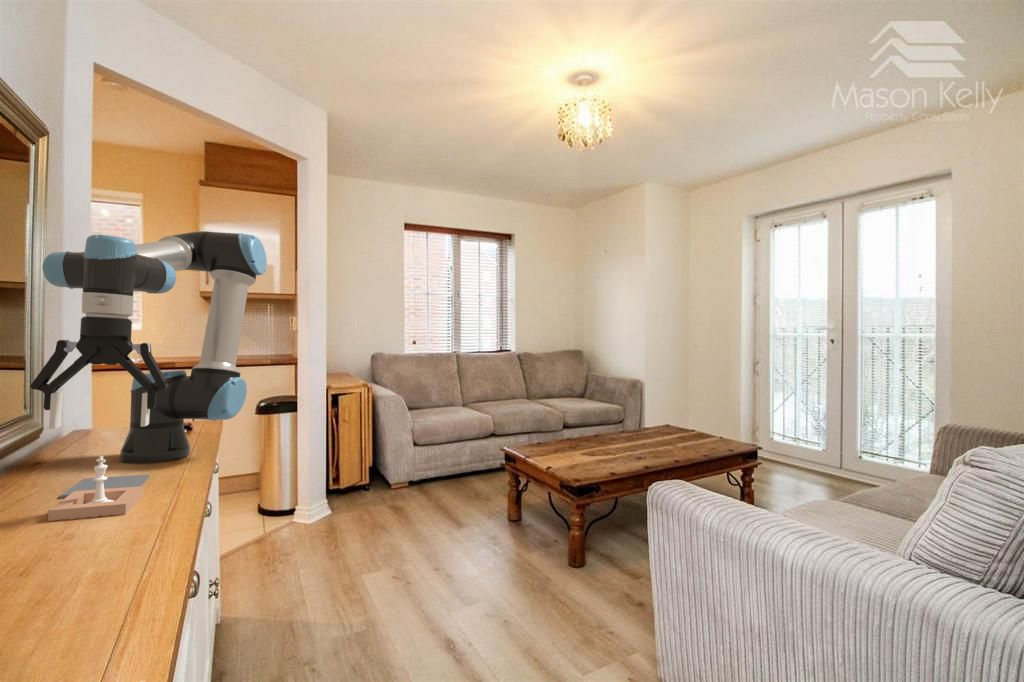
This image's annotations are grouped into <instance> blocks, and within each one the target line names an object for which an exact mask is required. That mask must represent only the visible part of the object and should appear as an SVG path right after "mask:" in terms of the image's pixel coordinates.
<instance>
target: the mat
mask: <svg viewBox="0 0 1024 682" xmlns="http://www.w3.org/2000/svg"><path fill="white" fill-rule="evenodd" d="M150 474H151V473H148V474H132V475H118V476H117V475H116V476H106V477H107V479H106V480H103V483H104V489H110V488H124V487H138V486H143V485H144V483H145V482H146V481H147V480H148V479H149V478H150V477H149V476H151V475H150ZM148 477H149V478H148ZM94 478H95V477H85V478H82V479H81V480H79V481H78V482H77V483H75V484H74V485H72V486H71V487H70V488H68V489H67V490H66V491H64V492H63V493H62V494H60V495H59V499H65V497H67V496H69V495H70V494H71V493H73V492H74V491H82V490H96V484H97V481H93V479H94ZM147 478H148V479H147Z"/></svg>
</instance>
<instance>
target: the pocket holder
mask: <svg viewBox="0 0 1024 682" xmlns="http://www.w3.org/2000/svg"><path fill="white" fill-rule="evenodd" d="M143 487H144V486H143V485H141V486H138V487H124V488H110V489H104V492H105V497H106V498H107V499H109V500H114V501H111V502H98V503H89V502H92V501H91V500H92V499H94V495H95V490H82V491H74V492H73V493H71V494H70V495H69V496H67V497H66V498H62V500H60V501H59V502H58V503H57V504H55V505H54V506H53V507H51V508H50V509H49V510H48V515H47V516H48V517H47V518H48V522H54V521H53V520H59V521H62V520H61V519H70V520H74V519H73V518H81V519H87V518H86V517H92V518H99V517H98V516H103V517H110V516H109V515H114V516H122V515H123V514H125V515H126V514H127V513H128V512H129V511H130V510H131V509H132V507H134V506H135V504H136V503H137V502H138V501H139V500H140V499H141V498H142V497H143ZM141 496H142V497H141ZM140 497H141V498H140ZM84 503H85V504H84ZM123 516H124V515H123ZM71 518H72V519H71Z"/></svg>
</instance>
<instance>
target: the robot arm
mask: <svg viewBox="0 0 1024 682" xmlns="http://www.w3.org/2000/svg"><path fill="white" fill-rule="evenodd" d="M267 263H268V261H267V254H266V250H265V247H264V245H263V243H262V241H261V240H260V239H259V238H258V236H256V235H254V234H248V233H247V234H246V233H241V232H239V233H236V232H235V233H234V232H218V231H217V232H216V231H204V230H203V231H192V232H186V233H179V234H173V235H168V236H167V235H166V236H163V237H161V238H159V240H157V241H153V242H146V243H145V242H144V243H137V244H136V243H135V242H134V241H133V240H132V239H129V238H126V237H122V236H115V235H107V234H91V235H89V236H87V238H86V240H85V247H84V251H81V252H79V251H78V252H73V251H72V252H71V251H66V250H65V251H54V252H51V253H49V254H47V256H46V257H45V258H44V259H43V262H42V266H41V267H42V271H43V272H42V273H43V276H44V278H45V280H46V281H47V282H48V283H49V284H51V285H53V286H55V287H58V288H68V289H82V294H81V295H82V297H81V298H82V299H81V313H82V314H85V316H82V317H81V318H80V328H79V329H80V330H79V331H80V332H79V340H78V341H70V340H69V339H59V340H57V342H56V346H55V350H54V352H53V354H52V355H51V356H50V357H49V359H48V361H47V362H46V363H45V365H44V366H43V367H42V369H41V370H40V371H39V373H38V374H37V376H36V377H35V379H34V380H33V382H31V384H30V388H31V390H34V391H35V390H36V391H40V392H42V393H43V394H44V395H43V409H44V411H49V424H48V429H49V430H53V429H54V430H55V429H57V428H60V427H62V412H63V394H64V392H63V391H59V389H61V388H62V387H63V386H64V385H65V384H66V383H67V382H68V381H70V380H71V379H72V378H73V377H74V376H75V375H77V374H78V373H79V372H80V371H81V370H82V369H84V367H87V366H88V365H89V364H90V365H94V366H97V365H98V366H99V365H107V366H116V365H120V367H122V368H124V369H125V370H126V371H127V373H129V374H130V375H131V376H132V377H133V379H132V384H131V388H130V393H131V394H130V417H129V418H130V419H129V420H130V422H129V431H128V434H127V435H126V438H125V441H124V443H123V445H122V446H121V447H122V448H121V449H120V454H119V460H120V462H123V463H126V464H155V463H156V464H157V463H163V462H164V461H165V462H171V461H176V460H180V459H182V458H186V457H188V456H189V455H190V454H191V445H190V441H189V439H188V436H187V433H186V431H185V430H186V429H185V426H184V420H200V421H203V420H205V421H206V420H208V421H214V422H215V421H225V420H226V421H227V420H231V419H232V418H234V417H236V416H237V415H238V413H239V412H240V411H241V410H242V408H243V406H244V403H245V402H246V398H247V394H248V389H247V386H248V385H247V383H246V380H245V379H244V378H242V377H241V371H240V369H238V367H237V366H236V365H237V360H238V353H239V347H240V341H241V335H242V328H243V323H244V319H245V318H244V315H245V311H246V304H247V300H248V299H247V297H248V292H249V288H250V286H252V285H255V283H256V280H257V279H256V278H257V276H261V275H264V274H265V272H266V270H267V267H268V266H267ZM181 271H199V272H207V273H208V272H209V277H211V279H213V287H212V294H211V297H210V303H209V309H208V314H207V321H206V326H205V331H204V337H203V342H202V349H201V354H200V358H199V359H200V360H199V362H198V363H197V364H196V365H194V366H193V367H191V370H190V371H191V372H190V375H188V374H187V372H186V370H184V369H183V370H181V369H180V370H171V371H170V370H169V371H167V370H166V371H162V370H161V368H160V366H159V364H158V363H157V361H156V360H155V357H154V356H153V353H152V345H151V343H150V342H142V343H136V344H135V343H133V342H132V329H133V326H132V325H133V321H132V319H129V317H132V316H133V312H134V311H133V309H134V292H138V293H139V292H142V293H147V294H152V295H153V294H157V295H158V294H165V293H167V292H169V291H171V290H172V289H173V288H174V287H175V285H176V282H177V273H176V272H181ZM74 349H77V351H78V352H79V353H80V354H81V355H80V356H79V357H78V358H76V360H74V362H73V363H72V364H70V365H69V366H68V367H66V369H65V370H63V371H62V372H61V373H60V374H58V375H57V377H55V378H54V379H53V380H52V381H50V380H51V379H52V377H53V375H54V374H56V372H57V370H58V369H59V367H60V366H61V365H62V363H63V362H64V361H65V360H66V358H67V357H68V354H69V353H72V352H73V351H74ZM134 350H135V352H136V353H137V355H140V357H141V358H142V361H143V362H144V364H145V365H146V368H147V370H148V372H147V373H144V371H142V369H140V368H139V367H138V366H137V364H135V362H134V361H133V359H131V357H129V355H130V354H131V353H132V352H133V351H134ZM49 381H50V382H49ZM187 455H188V456H187ZM185 456H186V457H185ZM170 460H171V461H170ZM165 462H164V463H165Z"/></svg>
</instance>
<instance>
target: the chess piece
mask: <svg viewBox="0 0 1024 682" xmlns="http://www.w3.org/2000/svg"><path fill="white" fill-rule="evenodd" d="M106 461H107V460H106V459H105V458H104V455H100V456H98V458H97V459H96V462H98V464H97V465H95V466H94V467H93V470H94V473H95V475H96V477H93V478H94V479H93V481H97V484H96V490H95V495H94V499H92V500H91V501H92V502H89V503H98V502H111V501H114V500H109V499H107V498H106V497H105V492H104V483H103V480H106V479H107V477H108V476H105V473H106V471H107V469H108V467H109V466H108V464H105V463H106Z"/></svg>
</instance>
